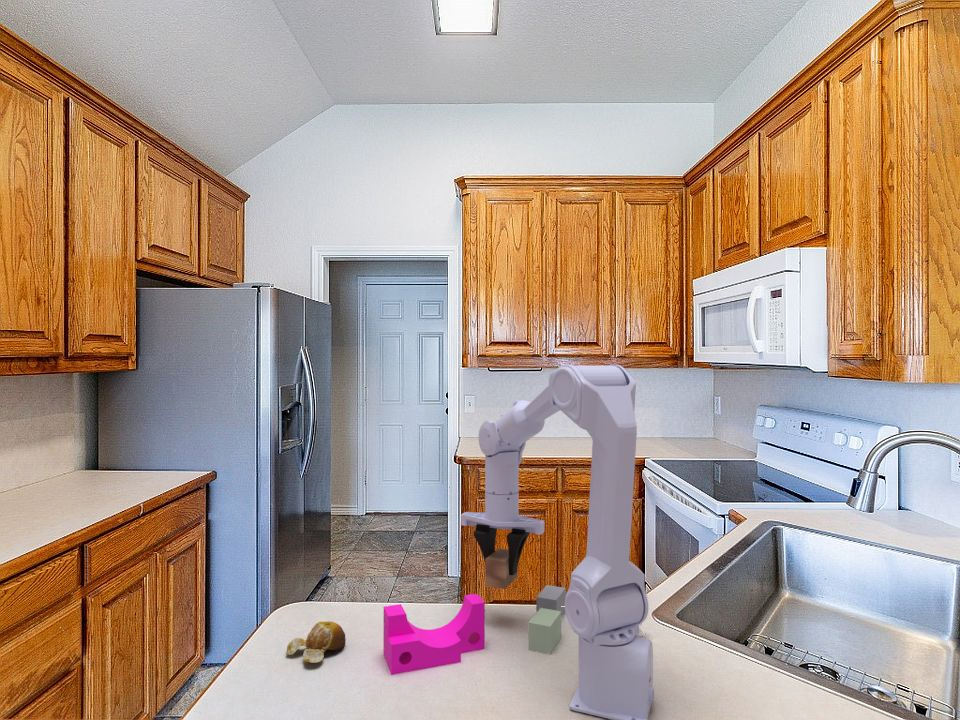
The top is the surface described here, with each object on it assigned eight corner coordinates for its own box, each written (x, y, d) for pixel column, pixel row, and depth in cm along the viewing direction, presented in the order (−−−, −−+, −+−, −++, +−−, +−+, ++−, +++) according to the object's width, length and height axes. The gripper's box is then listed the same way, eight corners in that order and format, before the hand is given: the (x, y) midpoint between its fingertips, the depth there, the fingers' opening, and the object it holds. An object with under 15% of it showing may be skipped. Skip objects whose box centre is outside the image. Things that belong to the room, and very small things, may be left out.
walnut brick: (517, 577, 102) (517, 551, 102) (505, 589, 96) (505, 561, 96) (498, 574, 103) (498, 548, 103) (485, 585, 98) (485, 558, 98)
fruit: (280, 649, 89) (281, 625, 90) (326, 634, 96) (328, 611, 96) (310, 667, 84) (311, 641, 84) (357, 650, 90) (359, 625, 90)
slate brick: (565, 613, 104) (565, 587, 104) (556, 627, 99) (556, 600, 99) (546, 610, 106) (546, 584, 106) (536, 623, 100) (536, 597, 100)
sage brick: (561, 639, 94) (561, 611, 94) (550, 656, 89) (550, 626, 89) (540, 635, 96) (540, 607, 96) (528, 651, 90) (528, 622, 90)
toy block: (391, 676, 83) (391, 623, 83) (383, 656, 89) (383, 606, 89) (490, 659, 88) (490, 608, 88) (476, 640, 94) (476, 593, 94)
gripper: (549, 490, 101) (549, 570, 100) (472, 483, 106) (472, 558, 106) (537, 499, 94) (537, 584, 94) (455, 491, 100) (455, 571, 100)
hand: (501, 571), depth 100 cm, fingers closed on walnut brick, 3 cm apart
